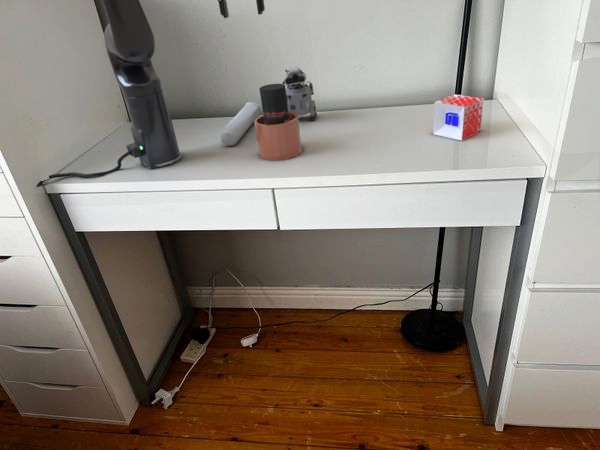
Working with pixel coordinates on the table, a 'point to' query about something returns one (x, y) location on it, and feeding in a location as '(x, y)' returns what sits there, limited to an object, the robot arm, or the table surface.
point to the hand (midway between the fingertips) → (243, 15)
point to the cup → (278, 138)
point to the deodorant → (274, 104)
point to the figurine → (299, 93)
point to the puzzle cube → (458, 116)
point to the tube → (240, 124)
